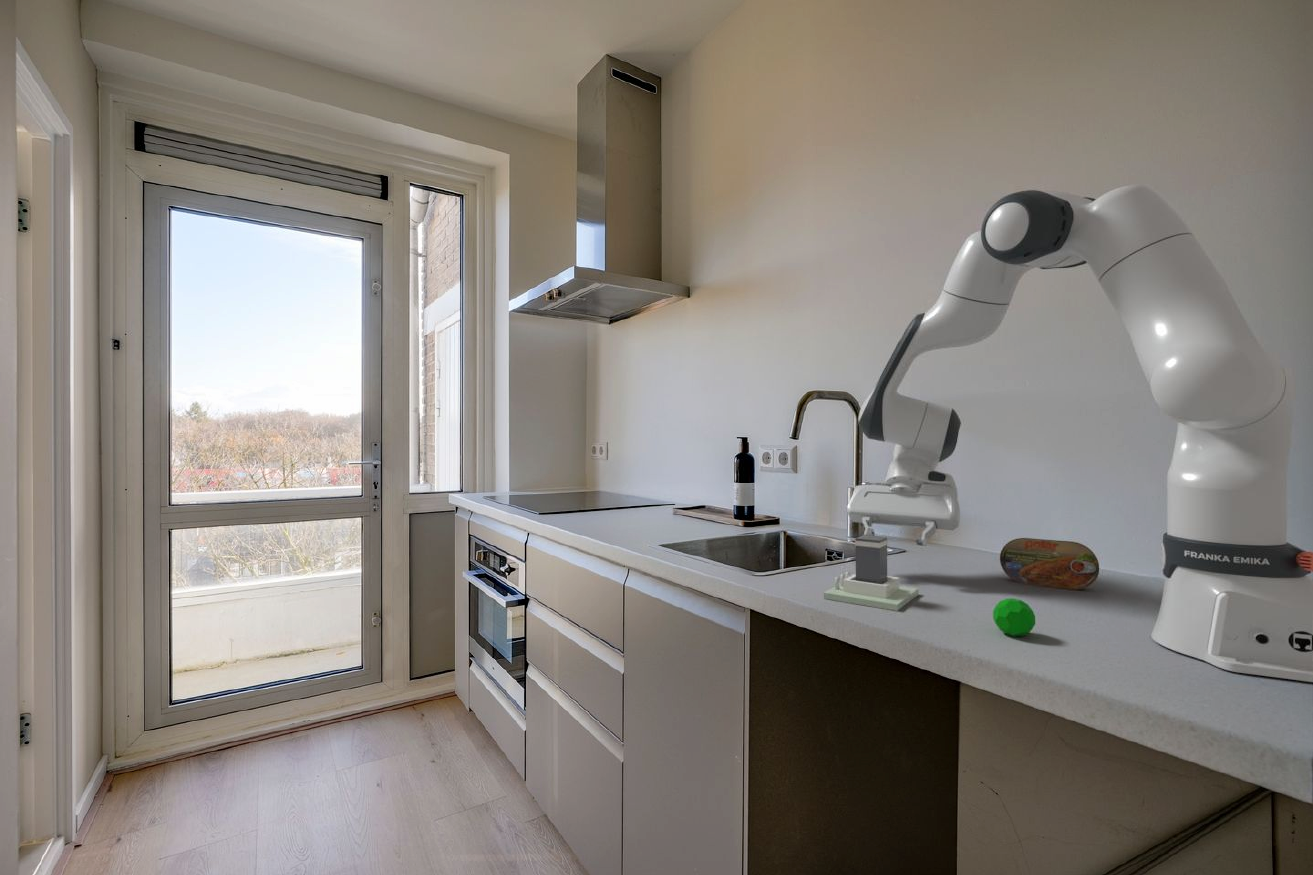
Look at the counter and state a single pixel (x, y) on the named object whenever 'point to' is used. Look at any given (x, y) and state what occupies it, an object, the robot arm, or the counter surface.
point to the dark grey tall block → (871, 559)
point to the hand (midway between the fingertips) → (893, 540)
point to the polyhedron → (1014, 617)
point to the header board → (871, 592)
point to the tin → (1049, 563)
